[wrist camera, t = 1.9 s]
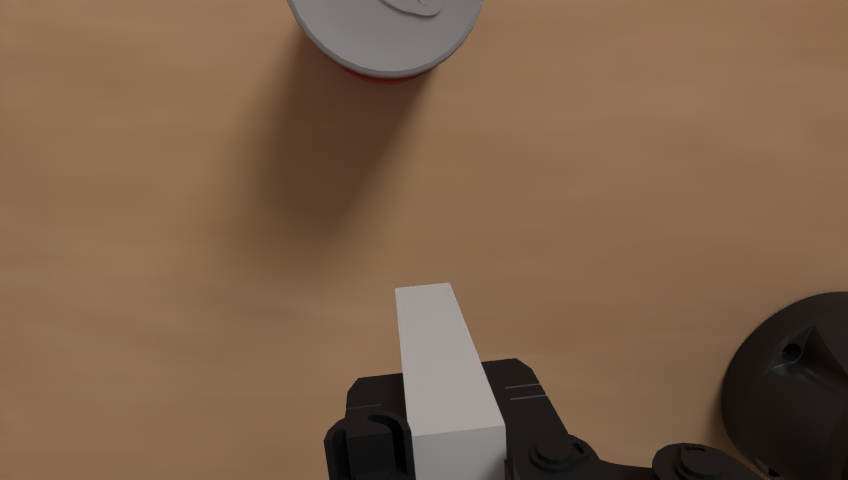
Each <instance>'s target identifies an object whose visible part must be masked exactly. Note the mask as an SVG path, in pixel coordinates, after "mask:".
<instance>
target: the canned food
mask: <svg viewBox="0 0 848 480" xmlns="http://www.w3.org/2000/svg"><path fill="white" fill-rule="evenodd" d="M482 1H483V0H287V2H288V4H289V6H290V8H291V10H292V12H293V14H294V17H295V19H296V21H297V22H298V24H299V25H300V27H301V28H302V29H303V31H304V32H305V34H306V35H307V37H308V38H309V39H310V40H311V41H312V43H313V44H315V45H316V46H317V47H318V48H319V49H320V50H321V51H322V52H323V53H324V54H325V55H326V56H327V57H328V58H329V59H331V60H332V61H333V62H335V63H336V64H337V65H339V66H340V67H341V68H343V69H344V70H346V71H347V72H348V73H350V74H351V75H353V76H356V77H358V78H360V79H362V80H365V81H369V82H374V83H379V84H393V83H399V82H404V81H407V80H410V79H412V78H415V77H417V76H419V75H421V74H423V73H425V72H427V71H429V70H431V69H433V68H434V67H436V66H437V65H439V64H440V63H442V62H443V61H445V60H446V59H447V58H449V57H450V56H451V55H452V54H453V53H454V52H455V51H456V50H457V49H458V48H459V47H460V46H461V45H462V44H463V42H464V41H465V39H466V38H467V36H468V34H469V33H470V31H471V30H472V28H473V26H474V24H475V21H476V19H477V16H478V14H479V12H480V9H481V6H482Z"/></svg>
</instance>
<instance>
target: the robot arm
mask: <svg viewBox="0 0 848 480" xmlns="http://www.w3.org/2000/svg"><path fill="white" fill-rule="evenodd" d="M395 295H396V305H397V316H398V326H399V337H400V348H401V358H402V369H403V373H398V374H389V375H380V376H372V377H363V378H358V379H357V380H356V382H355V383H354V384H353V386H352V387H351V388H350V389H349V391H348V393H347V403H346V413H345V418H343V419H341V420H339V421H338V422H337V423H336V424H335V425H333V426H332V427H331V428H330V429H329V430H328V432H327V434H326V437H325V439H324V447H325V453H326V460H327V466H328V473H329V479H330V480H764V479H763V478H761V477H760V476H759V475H757V474H756V473H754V472H753V471H752V470H750V469H749V468H747V467H746V466H745V465H743V464H742V463H740V462H739V461H738V460H736V459H735V458H733V457H731V456H729V455H727V454H725V453H724V452H722V451H720V450H717V449H714V448H711V447H708V446H704V445H701V444H691V443H678V444H672V445H667V446H665V447H664V448H662V449H660V450H659V451H657V453H656V455H655V457H654V459H653V461H652V468H646V467H636V466H627V465H619V464H614V463H609V462H606V461H603V460H600V459H599V457H598V456H597V454H596V452H595V451H594V450H593V449H592V448H591V447H590V446H589V445H588V444H587V443H586V442H584V441H583V440H581V439H579V438H577V437H575V436H573V435H569V434H568V432H567V430H566V428H565V427H564V425H563V423H562V421H561V420H560V418H559V416H558V414H557V413H556V411H555V409H554V407H553V406H552V404H551V402H550V400H549V399H548V397H547V396H546V394H545V392H544V390H543V388H542V386H541V385H539V381H538V379H537V377H536V376H535V374H534V372H533V370H532V369H531V368H530V367H528V366H527V365H525V364H524V363H522V362H521V361H519V360H518V359H516V358H513V359H504V360H496V361H487V362H480V359H479V357H478V354H477V352H476V349H475V347H474V344H473V341H472V339H471V336H470V334H469V331H468V329H467V326H466V324H465V321H464V318H463V316H462V313H461V311H460V308H459V306H458V303H457V301H456V298H455V296H454V293H453V290H452V288H451V285H450V283H441V284H432V285H422V286H413V287H403V288H395ZM722 414H723V420H724V424H725V428H726V430H727V433H728V435H729V437H730V439H731V440H732V442H733V443H734V445H735V446H736V447H737V449H738V450H739V451H740V452H741V453H742V454H743V455H744V456H745V457H746V458H747V459H748V460H749V461H750V462H752V463H753V464H754V465H755V466H756V467H757V468H758V469H759V470H760V471H761V472H762V473H764V474H765V475H766V476H768V477H769V478H771V479H772V480H848V292H830V293H824V294H819V295H815V296H811V297H808V298H805V299H803V300H800V301H798V302H796V303H793V304H791V305H789V306H787V307H786V308H784V309H782V310H781V311H779V312H777V313H776V314H775V315H773V316H772V317H770V318H769V319H768V320H767V321H765V322H764V323H763V324H762V325H761V326H760V327H759V328H758V329H757V330H756V331H755V332H754V333H753V334H752V335H751V336H750V337H749V338H748V339H747V341H746V342H745V343H744V344H743V346H742V347H741V349H740V350H739V352H738V353H737V355H736V357H735V359H734V360H733V362H732V364H731V367H730V369H729V371H728V374H727V377H726V380H725V384H724V388H723V395H722Z"/></svg>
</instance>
